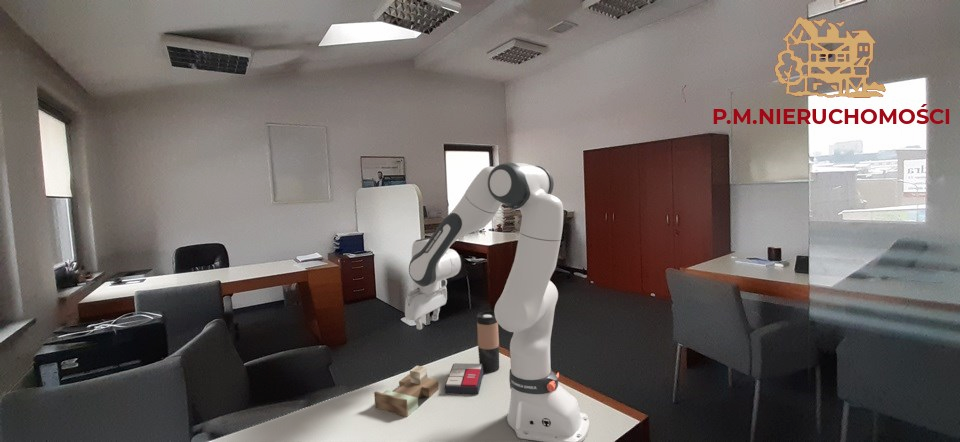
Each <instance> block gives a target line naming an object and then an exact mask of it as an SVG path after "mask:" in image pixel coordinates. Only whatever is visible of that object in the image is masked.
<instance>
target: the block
mask: <svg viewBox="0 0 960 442" xmlns="http://www.w3.org/2000/svg"><path fill="white" fill-rule="evenodd" d="M409 374H410V381H411V383H416V384H420V385H421V384H422V383H423V382H424V381H426V380H427V379H428V378H429V377H428V367H426V366H423V365H422V366H421V365H416V366H414V367H413V368H412V369H410V370H409Z"/></svg>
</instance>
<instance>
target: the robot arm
mask: <svg viewBox="0 0 960 442" xmlns="http://www.w3.org/2000/svg"><path fill="white" fill-rule="evenodd" d="M554 185H555V183H554V178H553V176H552V174H551V173H550V172H549V171H548V170H547V169H546V168H544V167H542V166H539V165H534V164H529V163H526V162H504V163H500V164H498V165H496V166H486V167H484V168H482V169H481V170H480V171H479V173H478V174H476V176H475V178H473V180H472V181H471V183H470V184H469V186H468V188H467V189H466V190H465V192H464V194H463V196H462V197H461V198H460V200H459V201H458V203H457V204H456V205H455V206H454V208H453V210H451V211H450V212H449V214H448V215H447V216H445V218H444V219H443V220H442V222H440V224H439V225H438V227H437V228H436V230H434V233H433V234H432V235H431V236H430V237H425V238H421V239H416V240H415V241H413V243H412V246H411V260H410V261H409V265H408V272H409V273H408V274H409V276H410V279H412V290H410V291H409V292H408V294H407V296H406V298H405V305H404V317H405V318H406V319H407V320H410V321H414V323H415V324H416V330H419V331H420V330H422V329H424V323H423V322H422V321H421V320H422V317H424V316H425V315H427V314H429V313H431V312H433V313H432V315H431V321H432V322H436V321H438V320H439V313H440V311H441V307H442V306H445V305H446V304H447V300H448V291H447V290H448V289H447V284H448V280H447V279H449V278H454V277H455V276H457V275H458V274H459V273H460V271H461V269H462V258H461V256H460V254H459V253H458V252H457V250H455V249H453V248H450V247H451V246H452V245H453V244H454V243H455V242H456V241H458V240H459V239H462V238H463V237H465V236H467V235H468V234H472V233H474V232H477V231H479V230H482V229H483V228H485V227H486V226H487V225H488V224H489V223H490V222H491V221H492V220H493V218H494V217H495V216H496V215H497V213H498V211H499V209H500V208H501V206H502V205H503V204H504V205H505V206H507V207H509V208H510V209H512V210H520V213H521V224H520V229H519V234H518V240H517V245H516V250H515V256H514V261H513V263H512V266H511V270H510V272H509V274H508V278H507V279H506V283H505V285H504V289H503V291H502V293H501V295H500V297H499V298H498V299H497V301H496V303H495V305H494V311H493V312H494V313H495V318H496V320H497V322H498V326H500V327H501V328H502V329H503V330H505V331H507V332H509V333H513V334H512V337H511V339H510V343H509V353H510V354H509V356H510V357H509V358H510V369H509V379H508V380H509V388H510V399H509V400H510V401H509V408H508V413H507V416H506V420H507V423H508V425H509V427H511V428H512V429H513V430H514V431H515V435H516V436H517V438H519V439H521V440H530V441H537V442H583V441H584V439H586V437H587V435H588V433H589V431H590V430H589V429H590V420H589V417H588V415H587V413H585V412H581V409H580V405H579V402H578V400H577V398H576V397H575V396H574V395H572V394H571V393H569V391H567V389H565V388H564V387H563V386H561V385H560V384H559V378H560V372H557V373H556V374H555V372H554V371H553V370H552V368H551V338H552V332H553V331H552V330H553V325H554V318H555V309H556V305H557V302H558V300H559V299H558V298H559V291H558V289H557V287H556V285H555V284H554V283H553V282H552V281H551V278H552V276H553V274H554V272H555V270H556V267H557V263H558V258H559V257H558V256H559V251H560V246H561V240H562V236H563V235H562V234H563V227H564V204H563V202H562V200H561V199H559V197H557V196H555V195H553V194H552V193H553V191H554V188H555V187H554Z"/></svg>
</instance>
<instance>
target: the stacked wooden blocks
mask: <svg viewBox="0 0 960 442" xmlns="http://www.w3.org/2000/svg"><path fill="white" fill-rule="evenodd" d="M427 378H428V379H427V380H426V381H424V382H423V383H422V384H421V385H420V384H416V383H411V381H410V373H409V374H407V375H406V376H405V377H403V378H402V379H401V380H399V381H398V386H399V387H398V388H397V389H395V390H394V391H392V390H388V389H386V390H385V391H383V392H378V391H374V392H373V393H374V395H373V396H374V405H375V406H374V407H375V409H377V410H380V411H384V412H387V413H391V414H394V415H399V416H401V417H405V418H408V417H409V416H410V415H411V414H412V413H413V412H415V411H416V410H417V409H418V408H419V407H420V406H422V404H424V403H425V402H426V401H427V400H428V399H430V397H432V396H433V395H434V394H435V393H437V392H438V391H439V389H440V387H439V385H440V382H439V380H438V379H433V378H429V377H427Z"/></svg>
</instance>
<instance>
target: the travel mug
mask: <svg viewBox="0 0 960 442" xmlns="http://www.w3.org/2000/svg"><path fill="white" fill-rule="evenodd" d="M476 327H477V330H476V331H477V346H478V347H477V349H478V350H477V351H478V361H479V362H478V364H483V369H484V373H487V374H488V373H495V372H497V371H498V370H499V369H500V337H499V324H498V322H497V320H496V318H495V313H494V311H482V312H479V313H478V314H477V315H476Z"/></svg>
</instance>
